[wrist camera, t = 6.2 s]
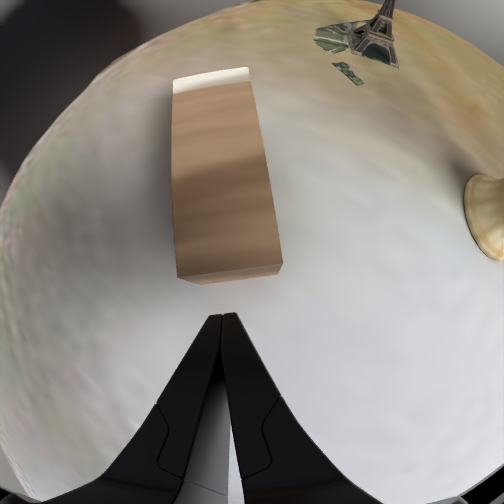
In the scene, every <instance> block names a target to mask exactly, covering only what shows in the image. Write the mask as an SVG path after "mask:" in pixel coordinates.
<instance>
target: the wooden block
mask: <svg viewBox="0 0 504 504" xmlns="http://www.w3.org/2000/svg"><path fill="white" fill-rule="evenodd" d="M171 173H172V207H173V227H174V242H175V256H176V268H177V277H178V278H181V279H184V280H187V281H191V282H194V283H198V284H208V283H216V282H224V281H232V280H239V279H247V278H254V277H262V276H269V275H276V274H278V273H279V271H280V269H281V266H282V264H283V260H282V253H281V247H280V241H279V234H278V228H277V222H276V216H275V209H274V203H273V197H272V192H271V186H270V180H269V174H268V169H267V163H266V157H265V152H264V146H263V141H262V136H261V130H260V125H259V120H258V115H257V110H256V105H255V100H254V95H253V90H252V85H251V80H250V75H249V71H248V67H243V68H235V69H228V70H221V71H215V72H209V73H204V74H199V75H194V76H189V77H184V78H180V79H176V80H173V98H172V131H171Z"/></svg>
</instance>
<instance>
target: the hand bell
mask: <svg viewBox="0 0 504 504" xmlns="http://www.w3.org/2000/svg"><path fill="white" fill-rule="evenodd" d="M464 206H465V213H466V218H467V221H468V225H469V228H470V230H471V233H472V235H473V237H474V239H475V240H476V242H477V244H478V246H479V247H480V249H481V250H482V251H483V252H484V253H485V254H486V255H487V256H488V257H490V258H491V259H493V260H496V261H503V260H504V178H503V179H494V178H492V177H490V176H488V175H484V174H478V175H475V176H473V177H471V178H470V180H469V181H468V183H467V185H466V188H465V193H464Z"/></svg>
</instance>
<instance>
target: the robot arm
mask: <svg viewBox="0 0 504 504" xmlns="http://www.w3.org/2000/svg"><path fill="white" fill-rule="evenodd" d="M230 420H231V426H232V432H233V438H234V444H235V450H236V456H237V461H238V467H239V472H240V477H241V479H242V480H241V482H242V488H243V494H244V503H245V504H383V503H382V502H380V501H379V500H377V499H376V498H374V497H373V496H371V495H370V494H368V493H367V492H365V491H364V490H362V489H361V488H359V487H358V486H357V485H355V484H354V483H353V482H351V481H350V480H349V479H348V478H347V477H346V476H345V475H344V474H342V473H341V472H340V471H339V470H338V468H337V467H336V466H335V465H334V464H333V463H332V462H331V461H330V460H329V459H328V458H327V456H326V455H325V454H324V453H323V452H322V451H321V450H320V448H319V447H318V446H317V445H316V444H315V443H314V441H313V440H312V439H311V438H310V437H309V436H308V434H307V433H306V432H305V430H304V429H303V428H302V427H301V425H300V424H299V423H298V421H297V420H296V418H295V417H294V415H293V413H292V412H291V410H290V409H289V407H288V406H287V404H286V402H285V400H284V399H283V397H281V394H280V392H279V390H278V388H277V387H276V385H275V383H274V381H273V379H272V378H271V376H270V374H269V372H268V370H267V369H266V367H265V365H264V363H263V361H262V360H261V358H260V356H259V354H258V352H257V350H256V349H255V347H254V345H253V343H252V341H251V339H250V337H249V336H248V334H247V332H246V330H245V328H244V326H243V324H242V322H241V320H240V319H239V317H238V315H237V313H235V312H233V313H225V314H223V315H222V314H216V315H210V316H209V317H208V318H207V320H206V321H205V323H204V325H203V326H202V328H201V329H200V331H199V333H198V334H197V336H196V338H195V339H194V341H193V343H192V344H191V346H190V347H189V349H188V351H187V352H186V354H185V356H184V357H183V359H182V361H181V362H180V364H179V365H178V367H177V369H176V370H175V372H174V374H173V375H172V377H171V379H170V380H169V382H168V384H167V385H166V387H165V389H164V390H163V392H162V393H161V395H160V397H159V398H158V400H157V404H155V405H154V406H153V408H152V410H151V411H150V413H149V415H148V416H147V418H146V419H145V421H144V422H143V424H142V425H141V427H140V428H139V430H138V431H137V432H136V434H135V435H134V436H133V438H132V439H131V440H130V442H129V443H128V444H127V445H126V447H125V448H124V449H123V450H122V452H121V453H120V454H119V455H118V457H117V458H116V459H115V460H114V462H113V463H112V464H111V465H110V466H109V468H108V469H107V470H106V471H105V472H104V473H103V474H102V475H101V476H99V477H98V478H97V479H95V480H94V481H92V482H90V483H88V484H86V485H83V486H81V487H79V488H77V489H74V490H72V491H70V492H67V493H65V494H62V495H60V496H57V497H55V498H52V499H49V500H47V501H43V502H41V501H38V500H35V499H33V498H30V497H28V496H25V495H22V494H20V493H16V492H12V491H10V490H8V489H6V488H4V487H2V486H0V504H228V496H227V495H228V472H229V444H230ZM428 504H504V464H503V465H501V466H500V467H499V468H497V469H496V470H495V471H493V472H492V473H491V474H489V475H488V476H487V477H485V478H484V479H483V480H481V481H480V482H478V483H477V484H475V485H474V486H472V487H471V488H469V489H468V490H466V491H465V492H463V493H462V494H460V495H458V496H457V497H451V498H448V499H444V500H440V501H437V502H433V503H428Z"/></svg>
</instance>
